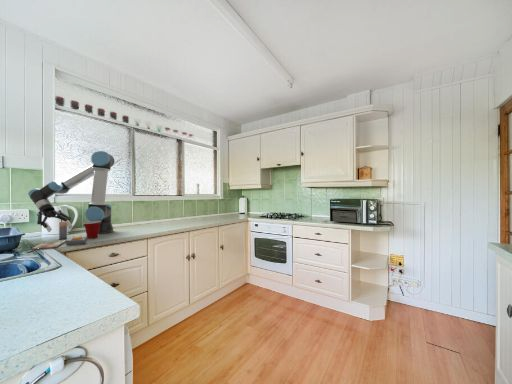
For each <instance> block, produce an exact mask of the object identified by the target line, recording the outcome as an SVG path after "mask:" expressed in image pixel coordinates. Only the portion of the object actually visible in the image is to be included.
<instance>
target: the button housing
mask: <svg viewBox="0 0 512 384" xmlns="http://www.w3.org/2000/svg"><path fill="white" fill-rule="evenodd" d="M66 240H67V241H66V242H65V246H66V245H69V246H81V245H86V244H87V243H88V242H89V239H88V237H87V236H82V239H77V240H73V237H70V238H67V239H66ZM87 241H88V242H87ZM86 242H87V243H86Z"/></svg>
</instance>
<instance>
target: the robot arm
mask: <svg viewBox="0 0 512 384" xmlns="http://www.w3.org/2000/svg"><path fill="white" fill-rule="evenodd" d="M90 160H91V163H92V164H91V165H89V166H87V167H86V168H84V169H81V170H80V171H78V172H77V173H75V174H73V175H72V176H70V177H68V178H66V179H65V180H63V181H61V182H59V181H58V180H51V181H50V182H48V184H46V185H44V186H43V187H41V188H34V189H31V190H29V191H28V192H27V195H28V197H29V199H30V200H31V201H32V202H33V204H34V205H35V207H36V208H37V209H38V212H37V214H36V215H37V221H36V224H37V225H40V226H42V228H44V229H45V230H46V231H47V232H48V233H50V232H52V230H53V228H52V227H51V226H50V224H49V223H48V222H47V220H48V218H49V219H50V218H55V219H58V220H61V221H62V222H67V228H68V229H70V230H72V228H73V227H74V226H73V224H72V222H71V220H72V217H70V216H69V215H67V214H65V213H64V212H63V211H61V210H59V209H58V210H56V209H55V207H54V206H53V204H52V203H51V202H50V200H49V197H52V196H53V195H55V194H61V195H64V194H67V193H68V192H69V191H70V190H71V189H73V188H74V187H77V186H78V185H79V184H82V183H83V182H85V181H87V180H89V179H90V178H92V177H93V178H92V179H93V181H92V192H91V200H90V202H89V203H88V204H87V209H86V210H85V212H84V215H85V218H86V219H87V220H88V222H90V221H101V224H100V228H99V233H98V235H99V234H108V233H113V232H114V226H113V225H112V224H113V223H112V205H111V204H108V203H106V202H105V201H106V194H107V192H106V191H107V183H108V176H109V175H108V174H109V172H110V171H111V168H112V167H114V164H115V158H114V156H113V155H111V153H108V152H106V151H103V150H97V151H94V152H93V153H92V154H91V156H90ZM43 216H44V218H43Z"/></svg>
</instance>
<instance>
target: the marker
mask: <svg viewBox="0 0 512 384" xmlns="http://www.w3.org/2000/svg"><path fill="white" fill-rule="evenodd" d="M58 227H59V228H58V231H59V232H58V241H59V240H68V238H67V237H68V226H67V222H65V221H59V222H58Z"/></svg>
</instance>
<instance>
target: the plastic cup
mask: <svg viewBox="0 0 512 384" xmlns="http://www.w3.org/2000/svg"><path fill="white" fill-rule="evenodd" d="M82 224H83V225H84V229H85V234H86V237H88V240H89V239H90V240H91V239H92V238H93V239H97V238H98V236H99V234H100V233H99V228H100V224H101V221H86V222H82ZM98 233H99V234H98Z"/></svg>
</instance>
